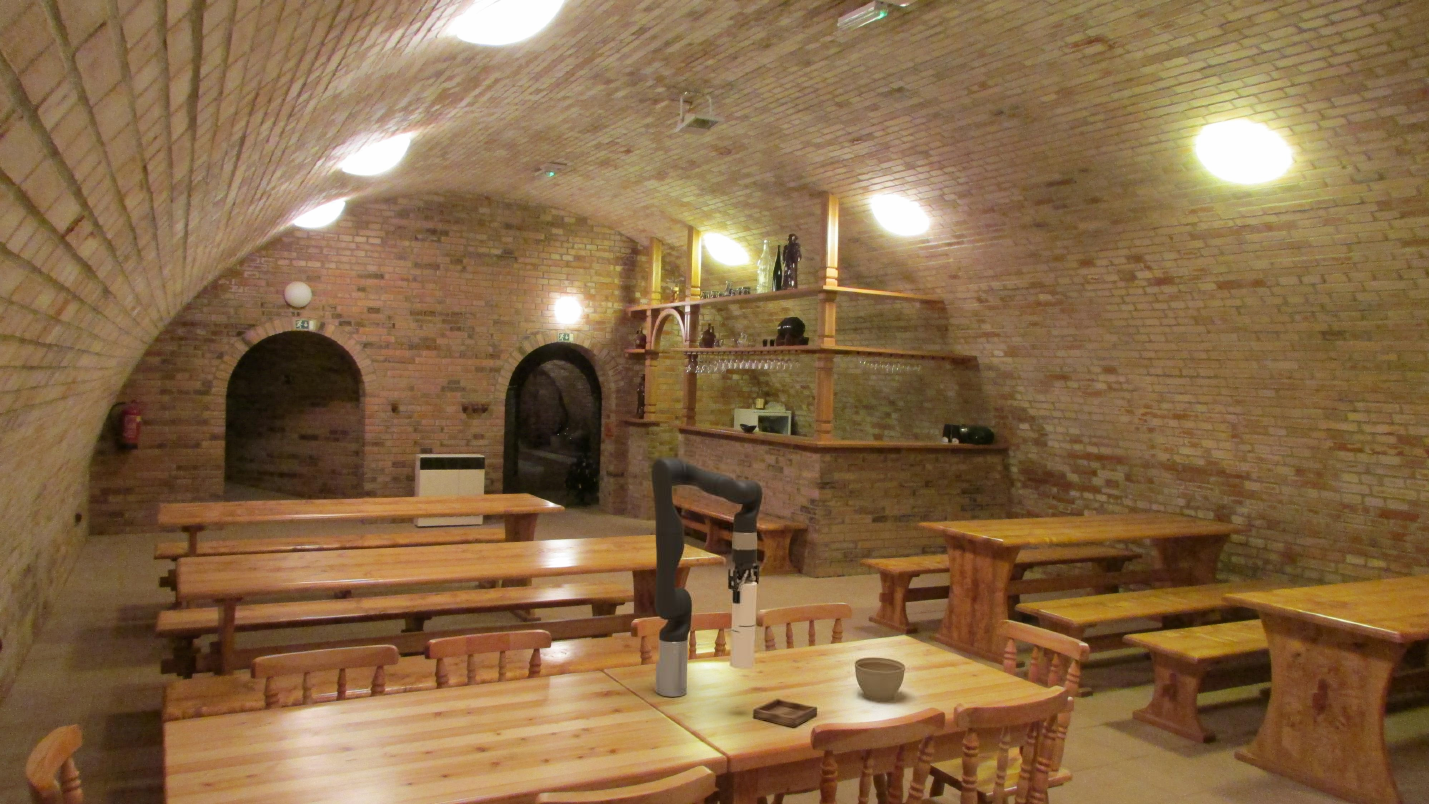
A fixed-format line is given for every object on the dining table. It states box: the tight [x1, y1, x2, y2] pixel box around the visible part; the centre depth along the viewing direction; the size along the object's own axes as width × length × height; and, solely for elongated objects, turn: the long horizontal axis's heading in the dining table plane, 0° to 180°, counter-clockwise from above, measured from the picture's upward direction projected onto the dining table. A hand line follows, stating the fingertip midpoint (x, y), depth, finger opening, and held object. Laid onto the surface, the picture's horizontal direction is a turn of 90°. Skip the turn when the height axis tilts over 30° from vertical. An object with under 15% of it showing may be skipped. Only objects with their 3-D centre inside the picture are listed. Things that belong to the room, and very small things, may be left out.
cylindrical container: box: [729, 581, 758, 670], centre depth 292 cm, size 7×7×25 cm
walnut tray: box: [752, 698, 818, 728], centre depth 290 cm, size 14×14×2 cm
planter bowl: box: [854, 656, 906, 702], centre depth 312 cm, size 16×16×11 cm
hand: (743, 601), depth 292 cm, fingers closed on cylindrical container, 7 cm apart
